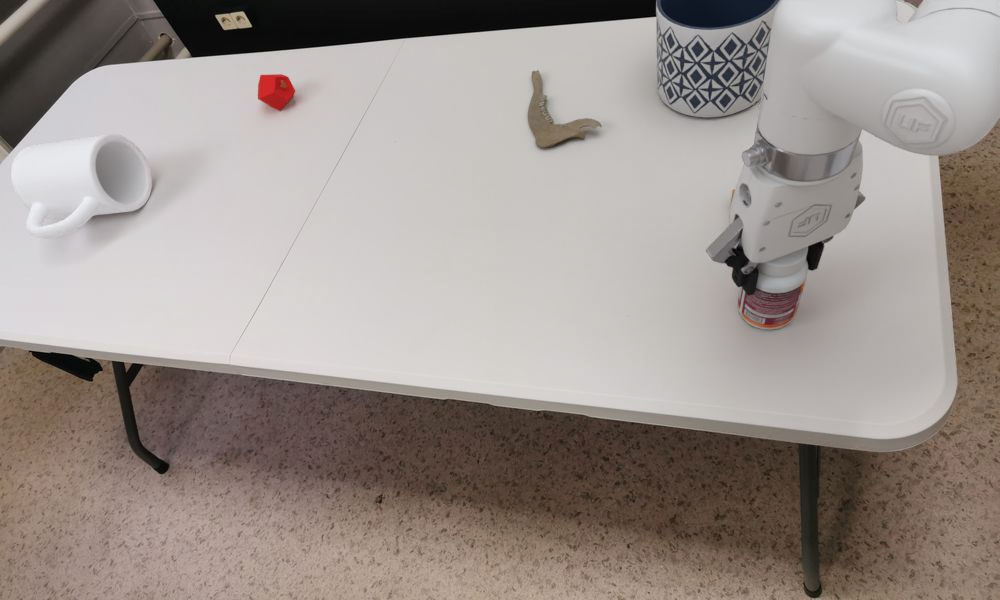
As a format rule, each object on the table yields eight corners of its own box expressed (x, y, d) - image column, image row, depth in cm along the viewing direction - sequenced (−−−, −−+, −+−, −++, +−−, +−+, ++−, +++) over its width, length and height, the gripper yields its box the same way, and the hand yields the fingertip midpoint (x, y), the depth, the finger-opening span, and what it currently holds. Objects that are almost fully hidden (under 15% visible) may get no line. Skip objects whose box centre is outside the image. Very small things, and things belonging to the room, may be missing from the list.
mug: (91, 182, 115) (34, 128, 105) (163, 173, 111) (112, 117, 101) (39, 263, 104) (-29, 213, 94) (118, 256, 101) (55, 203, 90)
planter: (773, 116, 86) (789, 21, 75) (656, 124, 90) (655, 36, 79) (764, 47, 95) (777, -47, 83) (658, 58, 99) (656, -31, 87)
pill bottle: (804, 324, 67) (826, 261, 58) (748, 337, 68) (760, 277, 59) (782, 281, 71) (799, 215, 62) (729, 293, 72) (737, 230, 63)
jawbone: (553, 165, 91) (550, 155, 89) (492, 101, 103) (488, 91, 102) (604, 133, 91) (602, 122, 90) (537, 73, 104) (534, 63, 102)
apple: (239, 86, 112) (260, 76, 107) (266, 69, 116) (287, 59, 111) (262, 120, 116) (283, 112, 110) (287, 103, 119) (309, 95, 114)
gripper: (729, 209, 47) (715, 330, 62) (937, 127, 47) (874, 267, 62) (683, 151, 52) (680, 277, 66) (873, 77, 52) (828, 218, 66)
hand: (774, 271), depth 64 cm, fingers closed on pill bottle, 6 cm apart
